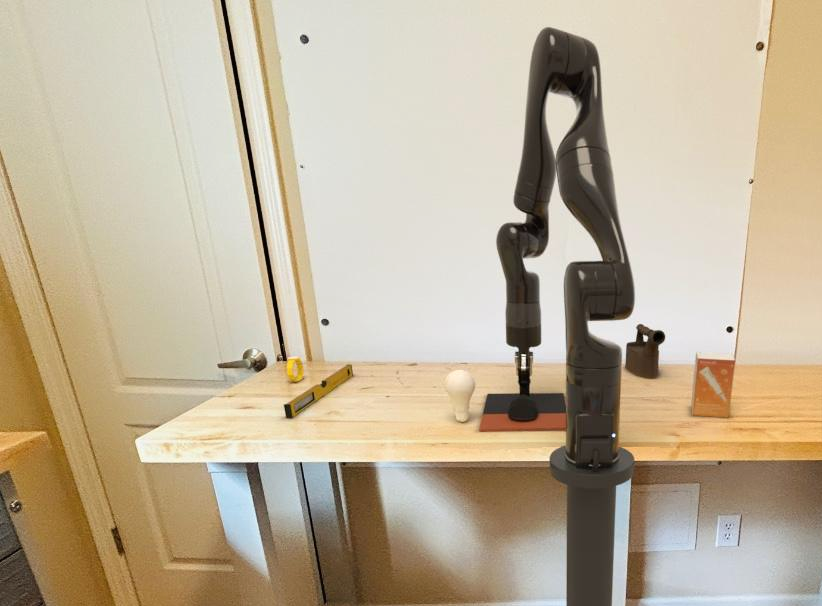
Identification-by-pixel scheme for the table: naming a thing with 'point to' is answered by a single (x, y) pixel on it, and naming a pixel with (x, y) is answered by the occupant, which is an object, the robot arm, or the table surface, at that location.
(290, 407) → the spirit level
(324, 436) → the table surface
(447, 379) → the lightbulb
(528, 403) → the gaming mouse
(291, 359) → the yellow ring
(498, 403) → the desk mat
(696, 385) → the small box
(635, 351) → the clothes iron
